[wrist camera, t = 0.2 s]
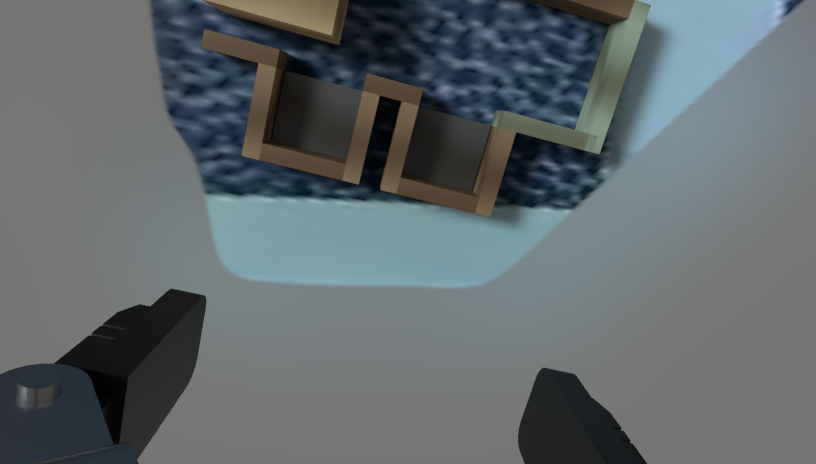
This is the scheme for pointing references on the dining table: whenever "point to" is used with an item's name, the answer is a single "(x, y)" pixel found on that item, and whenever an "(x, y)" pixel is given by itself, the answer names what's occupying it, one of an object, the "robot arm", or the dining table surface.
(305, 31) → the block
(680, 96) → the dining table surface
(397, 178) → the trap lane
